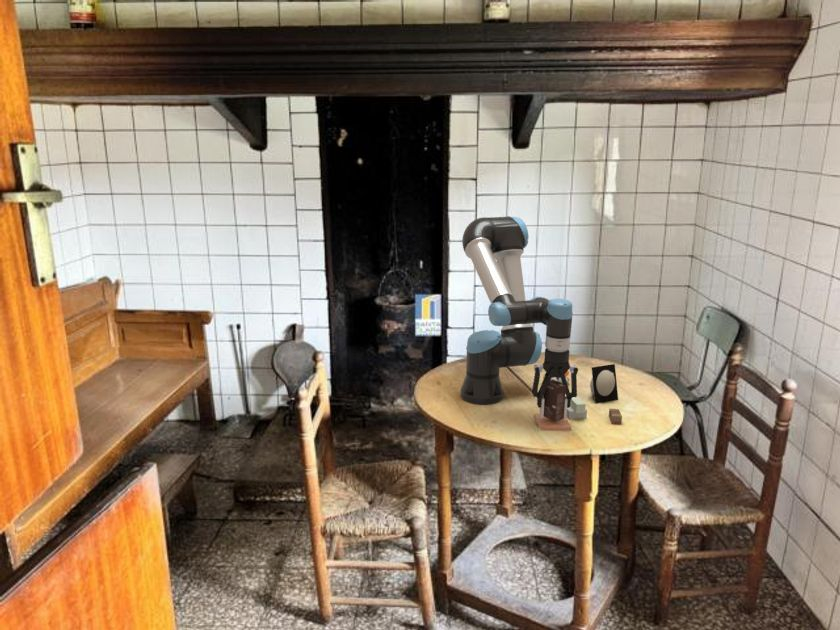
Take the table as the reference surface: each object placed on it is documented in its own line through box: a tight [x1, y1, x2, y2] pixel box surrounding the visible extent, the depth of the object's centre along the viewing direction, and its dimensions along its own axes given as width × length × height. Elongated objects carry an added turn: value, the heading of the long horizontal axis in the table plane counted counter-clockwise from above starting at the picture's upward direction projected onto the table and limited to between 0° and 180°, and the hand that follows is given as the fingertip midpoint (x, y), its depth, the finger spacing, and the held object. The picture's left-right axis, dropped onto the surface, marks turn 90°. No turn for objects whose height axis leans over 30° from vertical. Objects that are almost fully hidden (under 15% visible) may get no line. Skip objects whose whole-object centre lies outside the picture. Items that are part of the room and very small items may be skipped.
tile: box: [534, 413, 572, 431], centre depth 206 cm, size 10×10×1 cm
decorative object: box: [589, 363, 619, 405], centre depth 226 cm, size 13×10×10 cm
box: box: [543, 379, 566, 422], centre depth 204 cm, size 6×4×12 cm
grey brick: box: [566, 407, 588, 420], centre depth 211 cm, size 6×3×3 cm, turn 100°
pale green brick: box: [570, 396, 587, 413], centre depth 210 cm, size 6×3×3 cm, turn 9°
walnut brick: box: [608, 407, 623, 425], centre depth 209 cm, size 6×3×3 cm, turn 173°
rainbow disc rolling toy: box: [542, 370, 570, 385], centre depth 239 cm, size 8×10×7 cm
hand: (552, 416), depth 206 cm, fingers closed on box, 7 cm apart
